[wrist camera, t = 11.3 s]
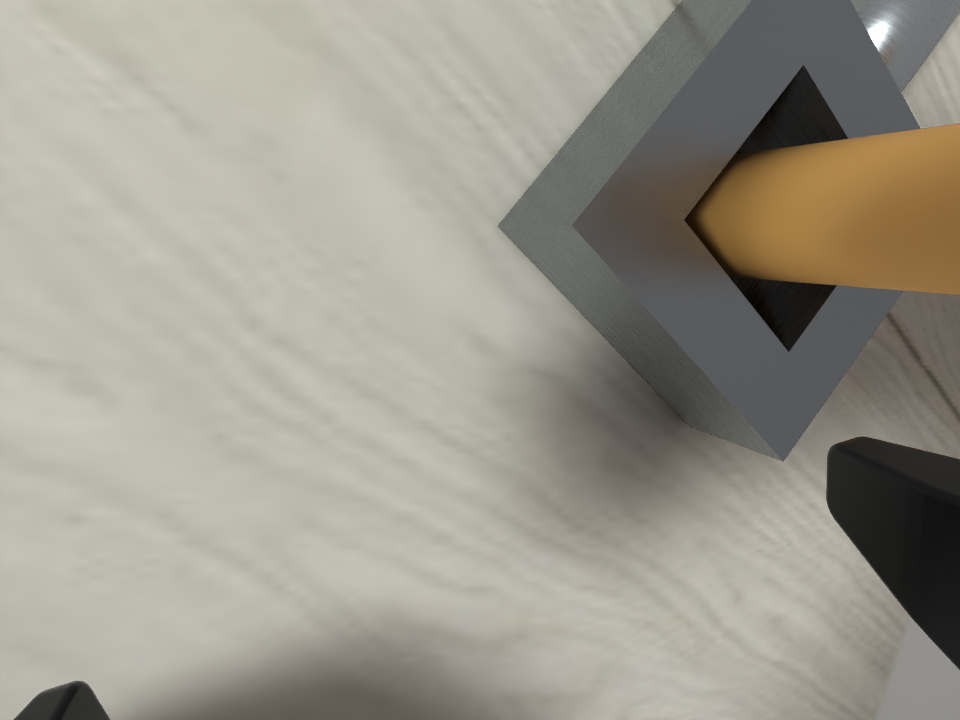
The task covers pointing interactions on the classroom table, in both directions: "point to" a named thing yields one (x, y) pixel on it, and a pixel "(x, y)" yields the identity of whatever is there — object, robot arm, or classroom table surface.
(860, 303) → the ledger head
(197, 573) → the classroom table surface
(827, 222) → the orange cylinder
